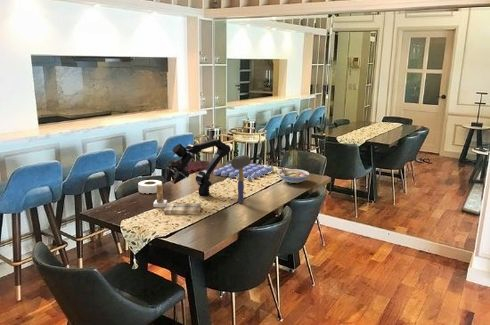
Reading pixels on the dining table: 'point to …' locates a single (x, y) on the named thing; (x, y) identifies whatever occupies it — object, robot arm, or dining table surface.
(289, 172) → the ramen bowl
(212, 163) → the robot arm
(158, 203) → the awl holder
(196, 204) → the beige flat rectangular piece
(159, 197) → the awl
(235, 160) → the rubber mallet
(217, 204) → the dining table surface
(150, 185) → the roll of tape
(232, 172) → the purple egg tray
